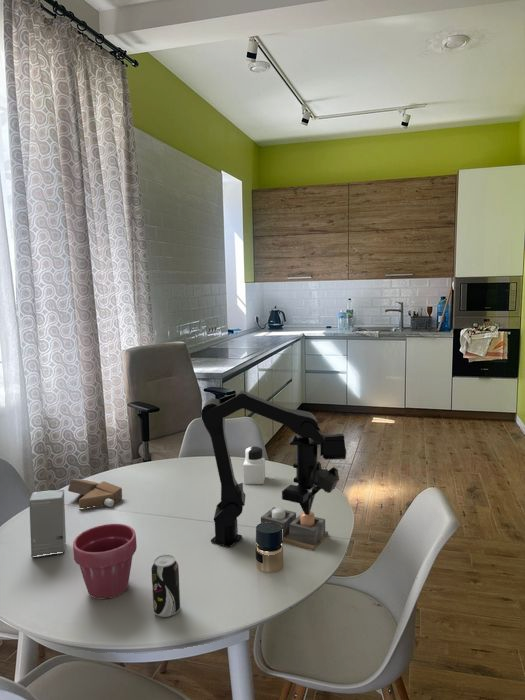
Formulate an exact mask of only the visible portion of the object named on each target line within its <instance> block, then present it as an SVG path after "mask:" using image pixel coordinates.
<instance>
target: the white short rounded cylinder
mask: <svg viewBox="0 0 525 700" xmlns="http://www.w3.org/2000/svg"><path fill="white" fill-rule="evenodd" d="M285 510H286V509H284V508H280V507H275V509H273V510H272V518H274V519H278V520H283V519H284V518H285Z"/></svg>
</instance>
